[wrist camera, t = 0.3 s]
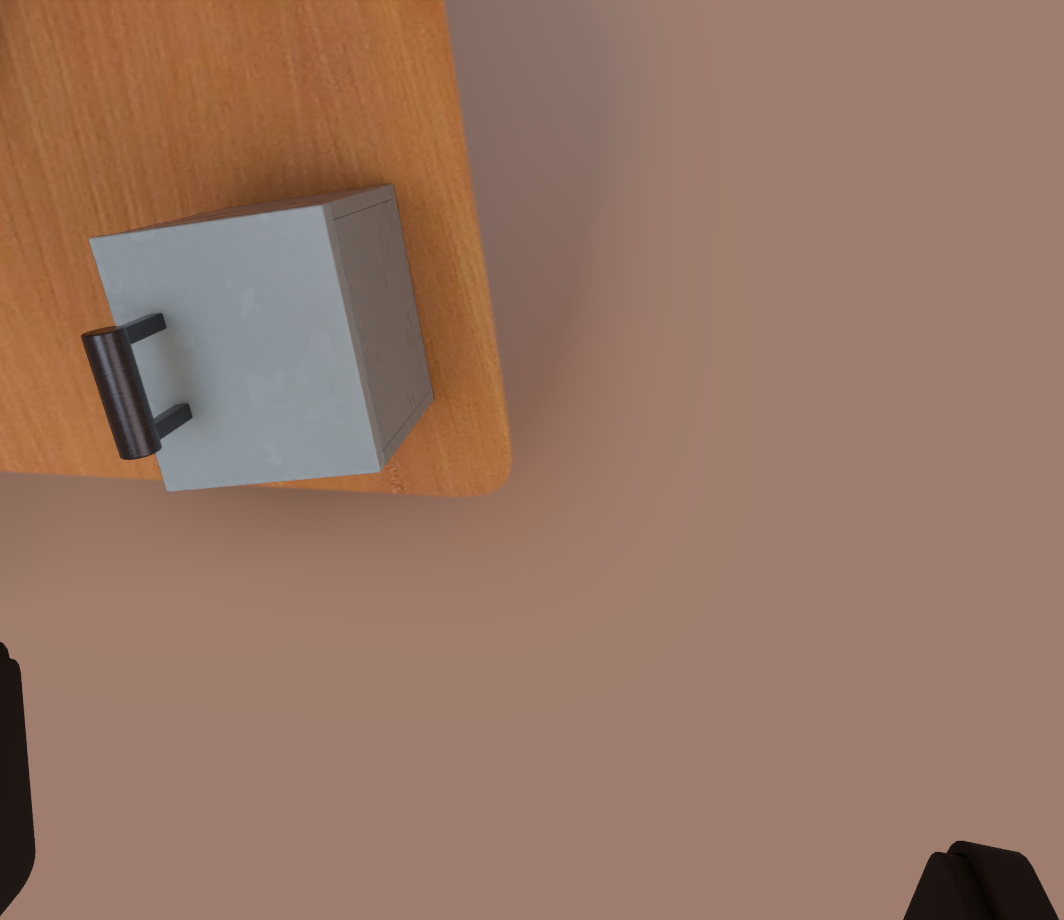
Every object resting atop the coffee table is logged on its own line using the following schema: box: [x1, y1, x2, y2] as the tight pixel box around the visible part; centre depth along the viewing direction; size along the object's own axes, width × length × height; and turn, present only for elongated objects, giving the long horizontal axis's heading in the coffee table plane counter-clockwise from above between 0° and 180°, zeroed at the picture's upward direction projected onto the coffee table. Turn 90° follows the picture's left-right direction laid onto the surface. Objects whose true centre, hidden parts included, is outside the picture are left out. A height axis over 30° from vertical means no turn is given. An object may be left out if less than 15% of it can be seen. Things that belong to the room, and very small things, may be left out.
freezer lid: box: [81, 203, 385, 492], centre depth 36 cm, size 10×11×5 cm
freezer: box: [120, 184, 434, 465], centre depth 43 cm, size 9×11×10 cm
